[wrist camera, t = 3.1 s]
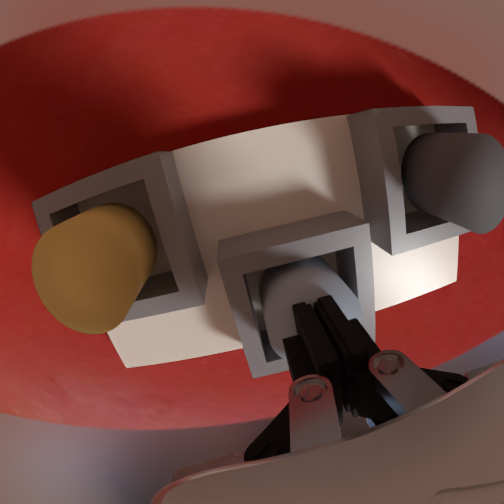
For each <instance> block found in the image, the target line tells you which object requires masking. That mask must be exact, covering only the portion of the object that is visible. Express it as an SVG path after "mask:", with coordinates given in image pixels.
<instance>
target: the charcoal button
mask: <svg viewBox="0 0 504 504" xmlns="http://www.w3.org/2000/svg"><path fill="white" fill-rule="evenodd" d="M401 178H402V184H403V188H404V191H405V193H406V195H407V197H408V199H409V201H410V202H411V203H412V204H413V205H414V206H415V207H416V208H417V209H419V210H420V211H423V212H425V213H428V214H431V215H433V216H436V217H438V218H441V219H443V220H446V221H448V222H451V223H453V224H456V225H458V226H461V227H463V228H465V229H468V230H470V231H473V232H475V233H478V234H484V233H487V232H490V231H491V230H493V229H494V228H495V227H496V226H497V225H498V224H499V223H500V221H501V220H502V218H503V217H504V149H503V147H502V146H501V144H500V143H499V142H498V141H497V140H496V139H495V138H494V137H492V136H491V135H488V134H483V133H424V134H421V135H419V136H417V137H416V138H414V139H413V140H412V141H411V142H410V144H409V145H408V147H407V149H406V151H405V153H404V156H403V160H402V166H401Z"/></svg>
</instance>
